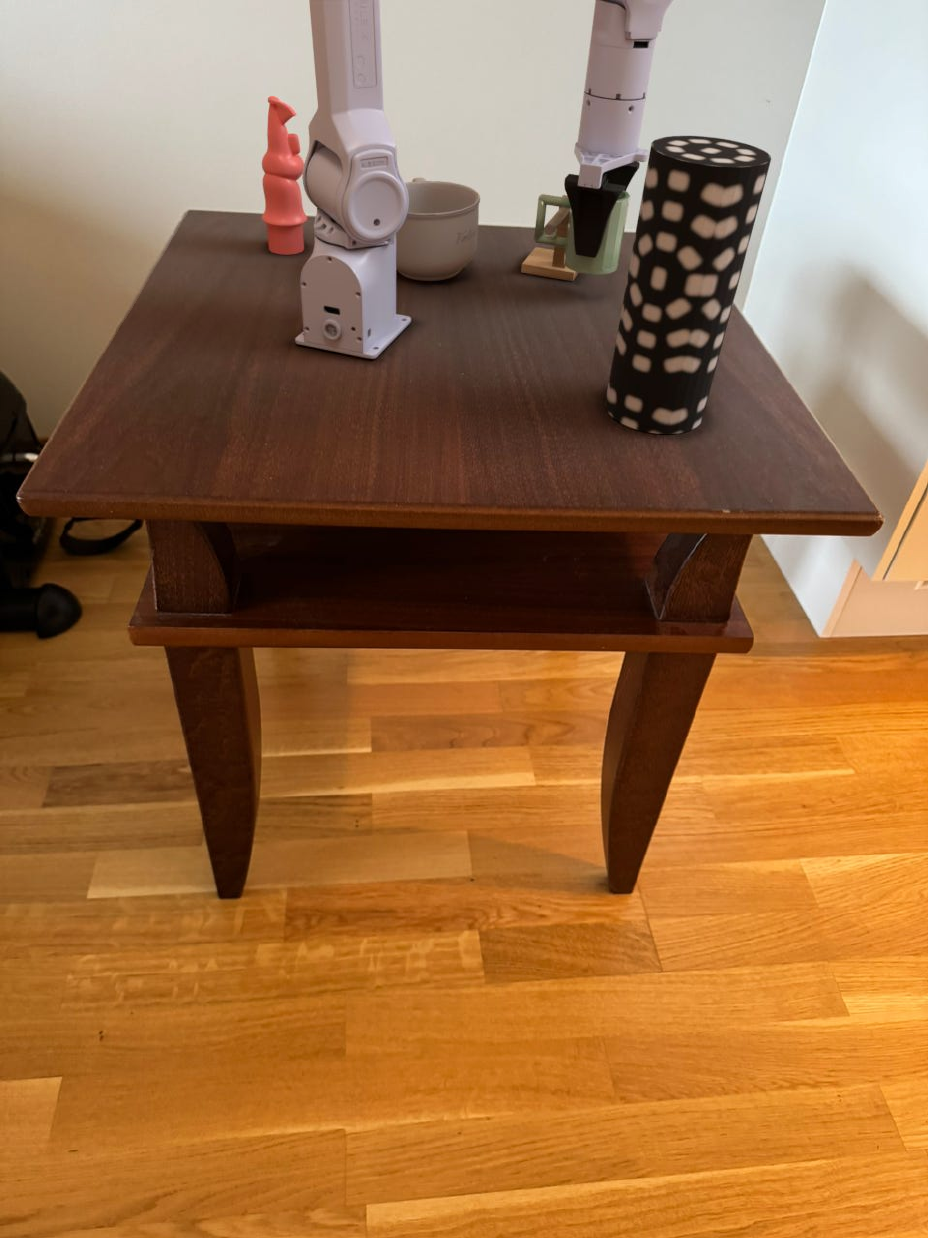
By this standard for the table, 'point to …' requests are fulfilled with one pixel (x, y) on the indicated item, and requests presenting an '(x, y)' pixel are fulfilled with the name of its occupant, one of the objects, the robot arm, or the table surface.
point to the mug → (587, 265)
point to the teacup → (437, 230)
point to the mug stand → (551, 251)
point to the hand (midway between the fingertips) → (592, 245)
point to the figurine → (282, 183)
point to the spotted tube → (683, 279)
